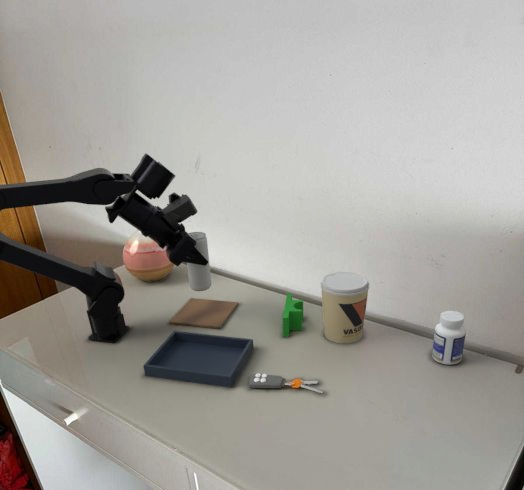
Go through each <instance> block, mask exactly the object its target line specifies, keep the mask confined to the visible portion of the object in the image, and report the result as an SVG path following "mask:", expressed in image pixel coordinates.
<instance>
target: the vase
mask: <svg viewBox="0 0 524 490" xmlns="http://www.w3.org/2000/svg"><path fill="white" fill-rule="evenodd" d="M166 249H167V247H166V246H165V247H164V248H163V249H162V248H161V247H159V245H158V244H157V243H156V242H155V241H153V240H152V239H151V238H149V237H148V236H147V237H145V236H143V235H142V233H141V231H139V230H138V229H136V231H135V232H134V233H132V234H131V235H130V237H129V238H128V239H126V242H125V244H124V246H123V249H122V262H123V265H124V268H125V269H126V271H127V272H128V273H129V274H130V275H131V276H133V277H134V278H136V279H138V280H140V281H142V282H144V283H145V282H147V283H153V282H158V281H161V280H163V279H164V278H166V277H167V276H168V275H169V273H171V271H173V270H174V267H175V266H176V265H175V264H173V263H172V262H170V261H169V259H168V257H167V255H166Z"/></svg>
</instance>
